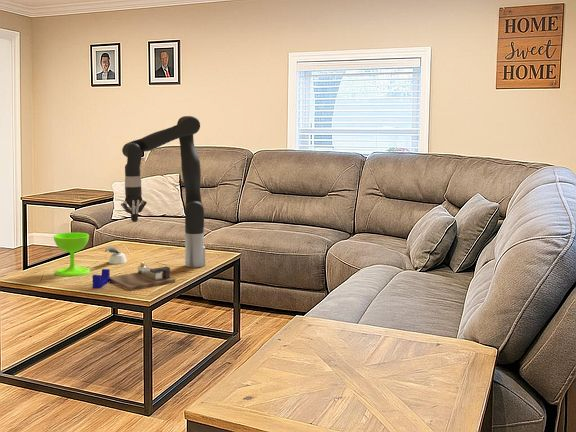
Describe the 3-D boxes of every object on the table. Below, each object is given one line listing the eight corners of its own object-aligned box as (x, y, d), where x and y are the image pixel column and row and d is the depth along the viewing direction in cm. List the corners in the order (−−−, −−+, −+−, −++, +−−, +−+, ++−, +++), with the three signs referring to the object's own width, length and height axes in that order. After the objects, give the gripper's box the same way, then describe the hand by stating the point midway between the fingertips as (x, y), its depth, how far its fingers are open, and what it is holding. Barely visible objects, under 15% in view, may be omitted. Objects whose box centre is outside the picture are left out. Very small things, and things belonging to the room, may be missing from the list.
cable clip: (100, 281, 286) (99, 268, 285) (109, 282, 286) (109, 269, 285) (89, 288, 274) (89, 275, 273) (99, 289, 274) (99, 275, 273)
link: (136, 272, 296) (136, 262, 295) (144, 271, 299) (144, 261, 298) (154, 280, 283) (154, 270, 282) (162, 278, 286) (162, 268, 285)
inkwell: (129, 260, 327) (129, 241, 325) (115, 268, 309) (115, 248, 308) (112, 259, 328) (112, 240, 326) (97, 267, 310) (97, 248, 309)
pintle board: (152, 273, 302) (152, 260, 301) (175, 282, 287) (175, 268, 286) (107, 280, 287) (107, 266, 286) (129, 290, 272) (129, 276, 271)
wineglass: (48, 272, 299) (47, 235, 296) (78, 266, 311) (77, 231, 308) (66, 278, 289) (64, 240, 286) (96, 272, 301) (95, 235, 298)
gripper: (141, 183, 303) (143, 219, 305) (116, 185, 294) (118, 222, 297) (149, 185, 297) (150, 221, 300) (124, 187, 288) (125, 224, 291)
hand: (134, 221), depth 298 cm, fingers closed
